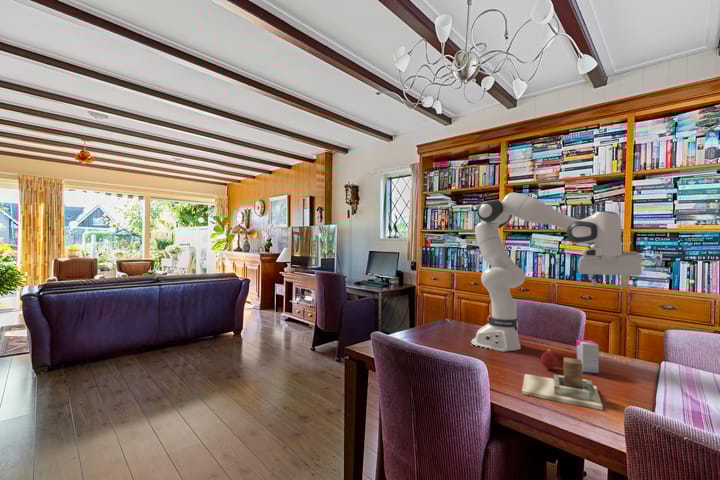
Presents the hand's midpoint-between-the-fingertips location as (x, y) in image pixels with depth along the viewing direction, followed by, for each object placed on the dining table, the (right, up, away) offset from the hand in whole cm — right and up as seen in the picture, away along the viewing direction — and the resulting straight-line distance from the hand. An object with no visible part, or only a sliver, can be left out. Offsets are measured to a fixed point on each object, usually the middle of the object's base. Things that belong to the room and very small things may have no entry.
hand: (608, 286), depth 131 cm
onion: (-23, -34, +1) cm, 41 cm away
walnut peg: (-28, -32, -21) cm, 47 cm away
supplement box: (-10, -33, -1) cm, 35 cm away
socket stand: (-31, -33, -19) cm, 49 cm away
